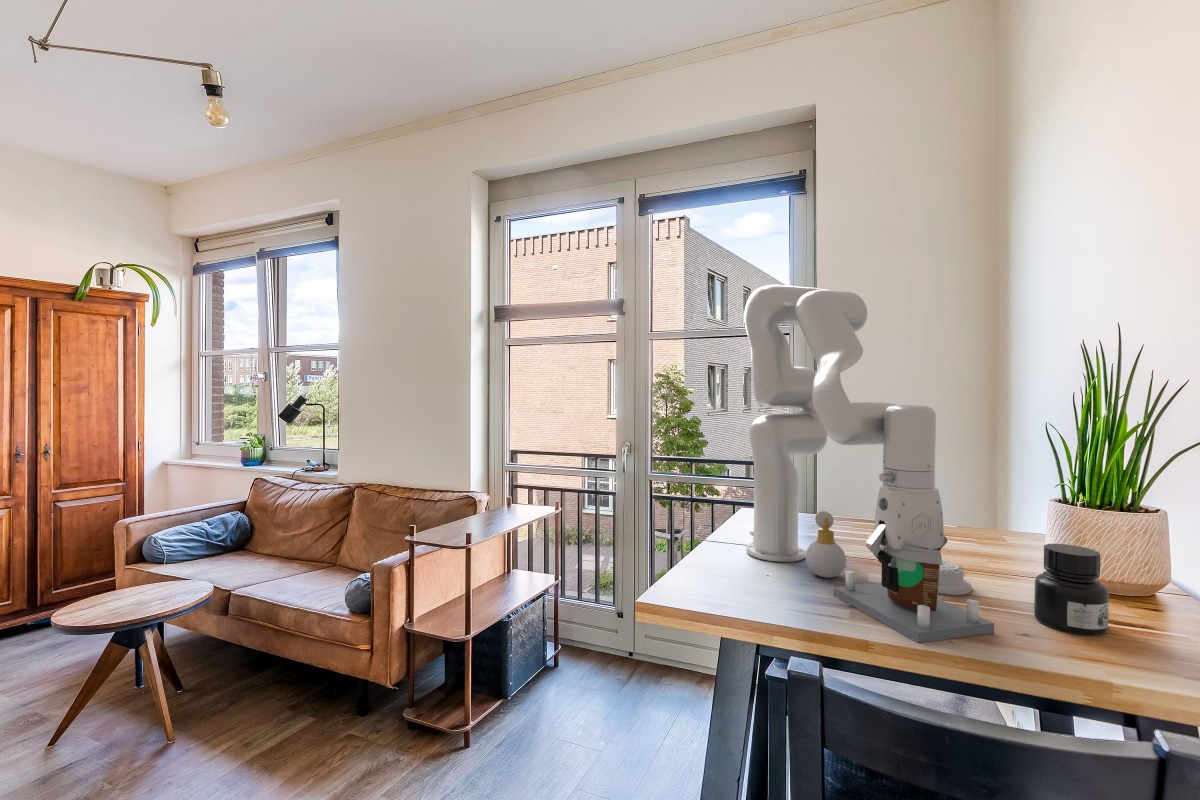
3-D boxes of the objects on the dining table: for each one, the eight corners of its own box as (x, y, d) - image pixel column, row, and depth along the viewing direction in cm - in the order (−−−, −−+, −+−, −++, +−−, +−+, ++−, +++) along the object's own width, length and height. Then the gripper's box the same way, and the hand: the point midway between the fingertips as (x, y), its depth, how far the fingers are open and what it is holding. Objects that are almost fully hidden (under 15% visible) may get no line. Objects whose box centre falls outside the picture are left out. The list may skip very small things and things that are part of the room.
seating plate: (833, 595, 99) (833, 570, 98) (898, 588, 102) (898, 564, 102) (918, 643, 80) (918, 612, 80) (994, 632, 83) (994, 603, 83)
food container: (867, 585, 97) (868, 529, 97) (903, 586, 97) (904, 530, 97) (899, 613, 85) (900, 550, 85) (941, 615, 85) (942, 551, 84)
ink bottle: (1086, 642, 80) (1088, 561, 80) (1020, 619, 89) (1021, 545, 88) (1121, 630, 84) (1123, 553, 84) (1055, 609, 92) (1056, 539, 92)
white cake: (921, 594, 100) (981, 598, 98) (921, 570, 100) (982, 574, 98) (901, 576, 110) (956, 579, 108) (901, 554, 109) (956, 557, 108)
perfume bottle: (816, 583, 105) (816, 520, 105) (794, 566, 115) (794, 509, 114) (853, 582, 106) (854, 520, 105) (828, 565, 115) (829, 509, 115)
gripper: (881, 485, 85) (879, 600, 85) (970, 481, 89) (968, 590, 90) (848, 477, 92) (846, 583, 93) (932, 474, 96) (930, 575, 97)
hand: (906, 586), depth 91 cm, fingers closed on food container, 5 cm apart
